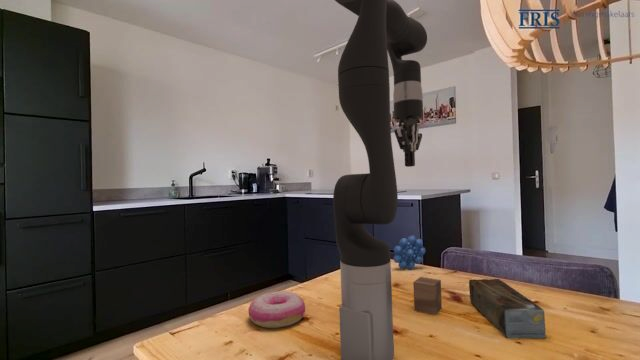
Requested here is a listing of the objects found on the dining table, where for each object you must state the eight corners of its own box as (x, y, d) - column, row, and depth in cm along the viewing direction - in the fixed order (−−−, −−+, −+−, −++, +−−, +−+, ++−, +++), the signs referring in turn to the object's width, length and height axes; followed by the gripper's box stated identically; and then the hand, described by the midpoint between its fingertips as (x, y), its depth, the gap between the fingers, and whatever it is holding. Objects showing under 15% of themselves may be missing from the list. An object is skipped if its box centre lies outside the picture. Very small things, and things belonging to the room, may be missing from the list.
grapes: (421, 265, 117) (420, 233, 117) (428, 270, 110) (427, 236, 110) (390, 266, 116) (389, 234, 116) (396, 271, 110) (394, 237, 110)
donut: (263, 338, 65) (262, 314, 65) (239, 317, 76) (239, 297, 76) (316, 320, 73) (315, 298, 73) (288, 303, 84) (287, 285, 84)
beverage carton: (504, 339, 62) (503, 306, 62) (468, 302, 81) (467, 277, 81) (547, 340, 61) (546, 306, 61) (500, 302, 80) (499, 277, 80)
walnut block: (435, 315, 73) (434, 285, 74) (414, 310, 77) (413, 281, 77) (441, 308, 77) (440, 279, 77) (421, 304, 80) (420, 276, 81)
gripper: (411, 93, 76) (413, 164, 76) (430, 103, 87) (432, 166, 86) (383, 99, 81) (385, 166, 81) (405, 108, 91) (407, 168, 91)
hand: (410, 166), depth 84 cm, fingers closed
